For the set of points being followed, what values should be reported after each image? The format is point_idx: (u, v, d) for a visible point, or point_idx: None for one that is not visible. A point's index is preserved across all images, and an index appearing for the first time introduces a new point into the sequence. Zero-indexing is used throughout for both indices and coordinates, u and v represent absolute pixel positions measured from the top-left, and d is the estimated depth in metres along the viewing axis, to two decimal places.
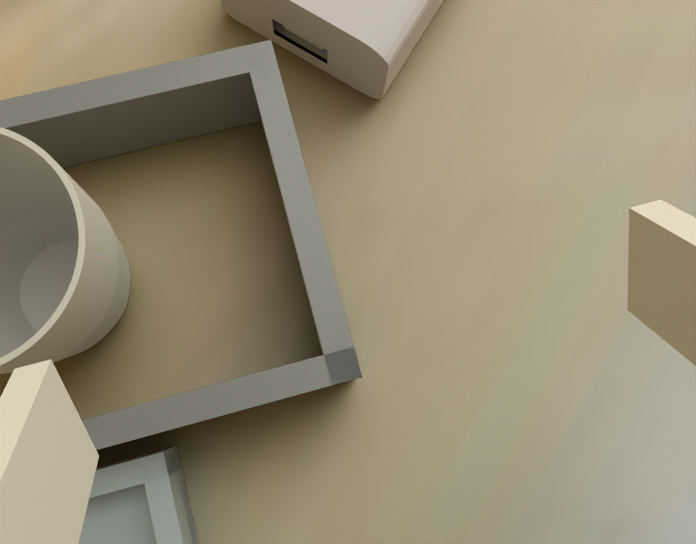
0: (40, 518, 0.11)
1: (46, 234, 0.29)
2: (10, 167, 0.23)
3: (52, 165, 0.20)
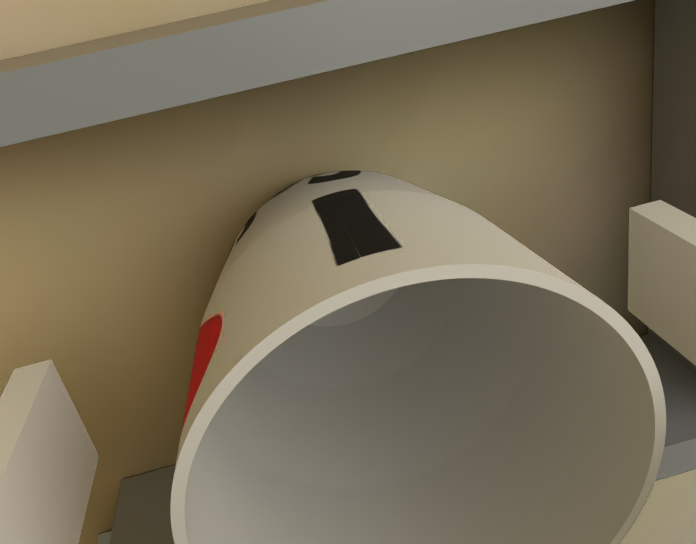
0: (40, 518, 0.11)
1: None
2: None
3: (634, 347, 0.10)
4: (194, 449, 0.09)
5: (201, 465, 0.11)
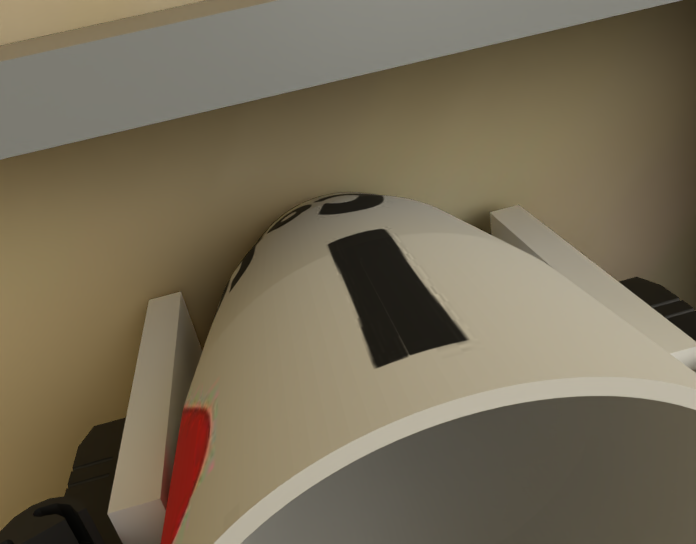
0: None
1: None
2: None
3: None
4: None
5: None
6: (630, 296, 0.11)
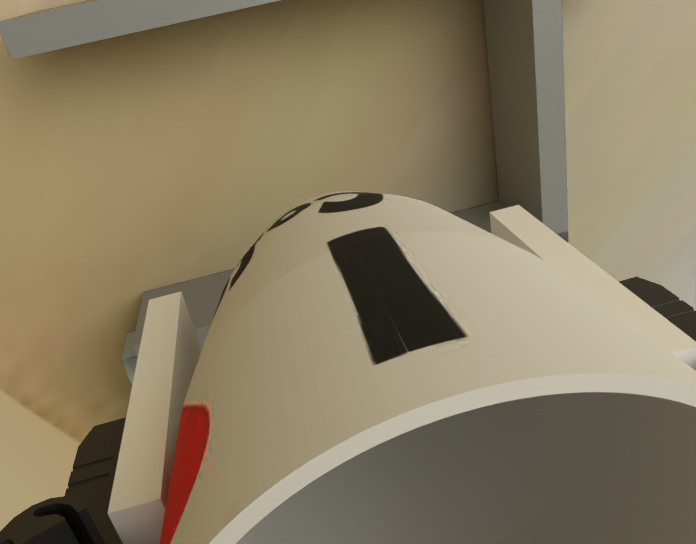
0: None
1: None
2: None
3: None
4: None
5: None
6: (630, 296, 0.11)
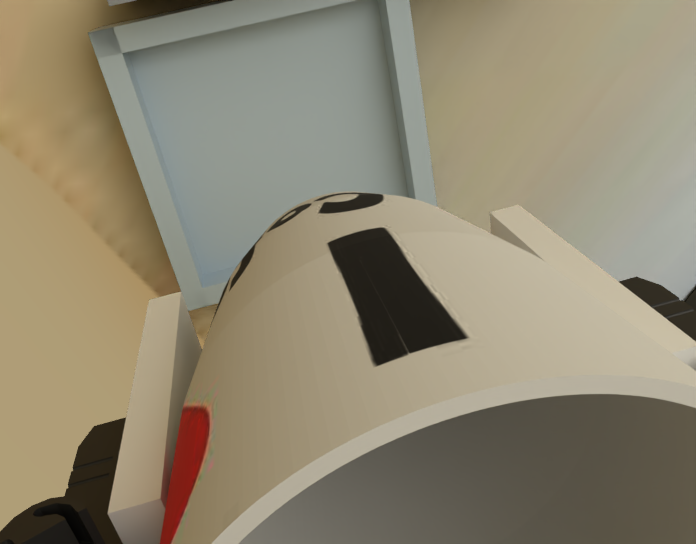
0: None
1: None
2: None
3: None
4: None
5: None
6: (630, 296, 0.11)
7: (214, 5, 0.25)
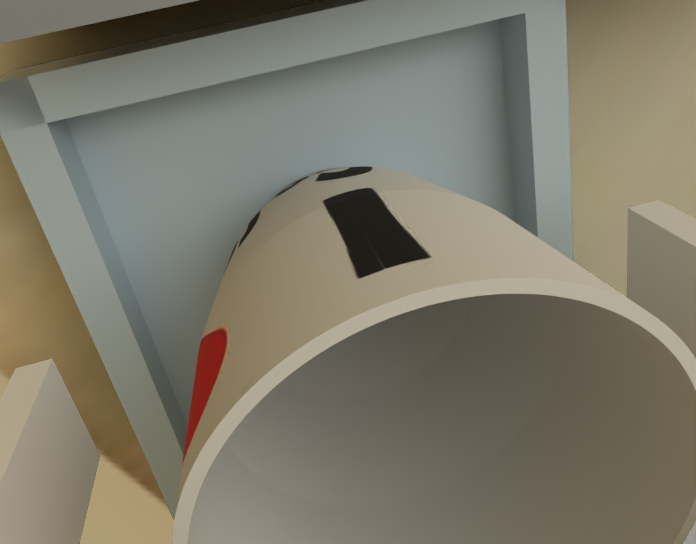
0: (41, 517, 0.11)
1: None
2: None
3: (687, 367, 0.09)
4: (198, 486, 0.08)
5: (204, 492, 0.10)
6: None
7: (218, 35, 0.14)
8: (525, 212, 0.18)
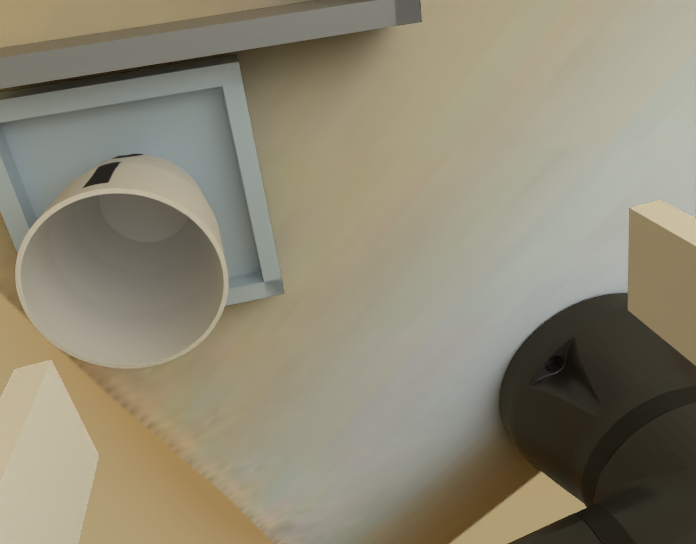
0: (40, 518, 0.11)
1: None
2: None
3: (201, 227, 0.25)
4: (23, 252, 0.24)
5: (38, 276, 0.27)
6: None
7: (70, 89, 0.30)
8: None
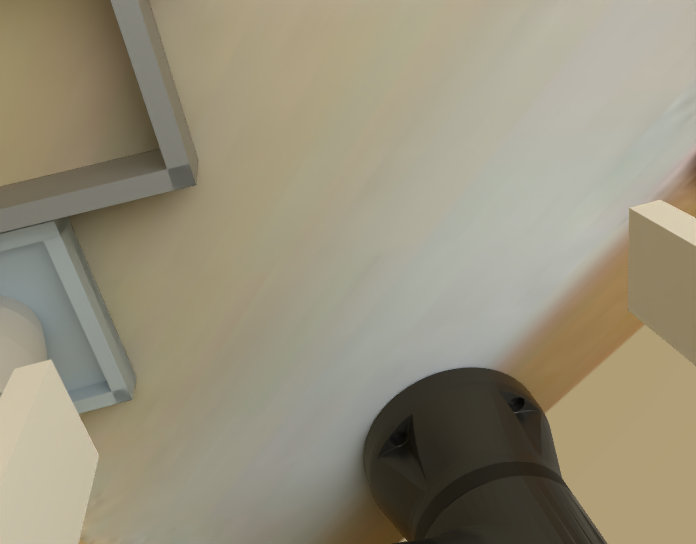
0: (40, 518, 0.11)
1: None
2: None
3: None
4: None
5: None
6: None
7: None
8: None
